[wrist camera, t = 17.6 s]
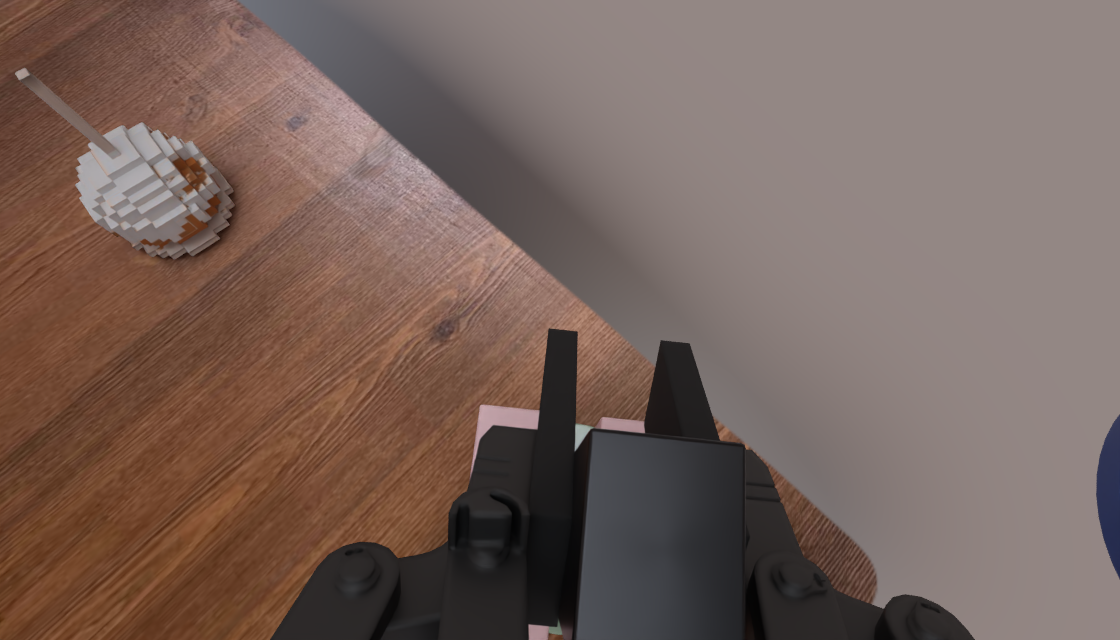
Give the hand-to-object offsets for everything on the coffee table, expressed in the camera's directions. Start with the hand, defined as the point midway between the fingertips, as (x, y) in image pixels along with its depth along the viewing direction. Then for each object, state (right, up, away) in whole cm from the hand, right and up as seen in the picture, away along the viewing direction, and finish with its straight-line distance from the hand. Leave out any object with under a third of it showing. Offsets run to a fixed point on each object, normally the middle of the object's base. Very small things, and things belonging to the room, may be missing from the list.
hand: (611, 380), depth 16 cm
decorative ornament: (-29, +10, +29) cm, 42 cm away
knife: (-1, -6, +6) cm, 9 cm away
